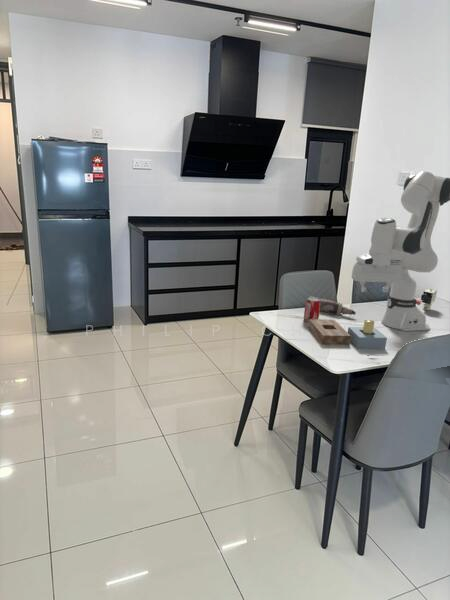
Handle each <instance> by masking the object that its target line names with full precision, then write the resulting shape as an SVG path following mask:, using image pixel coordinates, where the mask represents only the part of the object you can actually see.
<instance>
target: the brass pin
mask: <svg viewBox="0 0 450 600" xmlns="http://www.w3.org/2000/svg"><path fill="white" fill-rule="evenodd" d="M362 327H363V334H364V335H372V333H373V328H374V327H375V320H371V319H364V322H363V326H362Z"/></svg>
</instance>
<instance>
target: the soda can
mask: <svg viewBox="0 0 450 600" xmlns="http://www.w3.org/2000/svg"><path fill="white" fill-rule="evenodd" d="M314 297H315V296H313V297H310V296H309V297H307V298H306V301H305V305H304V312H303V321H304V322H306V323H307V324H309V319H319V318H320V312H321V311H320V299H318V298H319V297H317V298H314Z"/></svg>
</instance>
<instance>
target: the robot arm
mask: <svg viewBox="0 0 450 600" xmlns="http://www.w3.org/2000/svg"><path fill="white" fill-rule="evenodd" d="M448 202H450V177H445V176H444V177H443V176H439V175H434V174H433V173H432V172H430V171H425V170H424V171H420V172H418V173H415V174H414V173H413V174H411V175H409V176H407V178H406V179H405V181H404V184H403V192H402V194H401V198H400V203H401V206H402V207H403V209H405V211H407V212H408V213H410V214H411V215H410V218H409V222H408V224H407V226H406V227H404V226H398V225H397V221H396V220H395V219H393V218H389V217H381V218H378V219H376V220H375V221H374V225H373V228H372V232H371V233H372V234H371V237H370V238H371V239H370V243H371V245H370V247H369V250H368V252H367V253H364V254H360V255H357V256H356V257H355V260H356V262H355V263H354V265H353V268H352V272H351V279H352V280H353V281H354V282H359V285H360V291H361V293H366V292H367V287H365V284H366V282H367V283H368V282H369V283H370V282H371V283H386V285H385V286H384V287H382V293H388V291H389V289H390V292H389V295H388V298H387V303H386V304H387V305H386V309H385V312H384V315H383V317H382V320H381V324H382V325H384V326H386V327H389V328H393V329H396V330H400V331H402V332H403V331H405V332H414V331H416V332H417V331H428V330H431V329H430V328H431V327H430V325H429V324H428V323H427V316H426V315H425V313H424V312H423V311H422V310H420V308H418V306H420V305H421V304H422V300H420V299H415V295H416V288H417V282H416V280H415V279H414V278H413V277H412V276H411V275H410V273H409V271H413V272H416V273H431V272H433V271H434V270H435V269H436V267H437V265H438V262H439V258H438V255H437V253H435V250H434V249H433V247H432V244H431V242H432V241H431V238H432V234H433V230H434V227H435V225H436V221H437V220H438V219H437V218H438V215H439V211H440V207H441V206H443V205H445V203H448Z"/></svg>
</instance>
